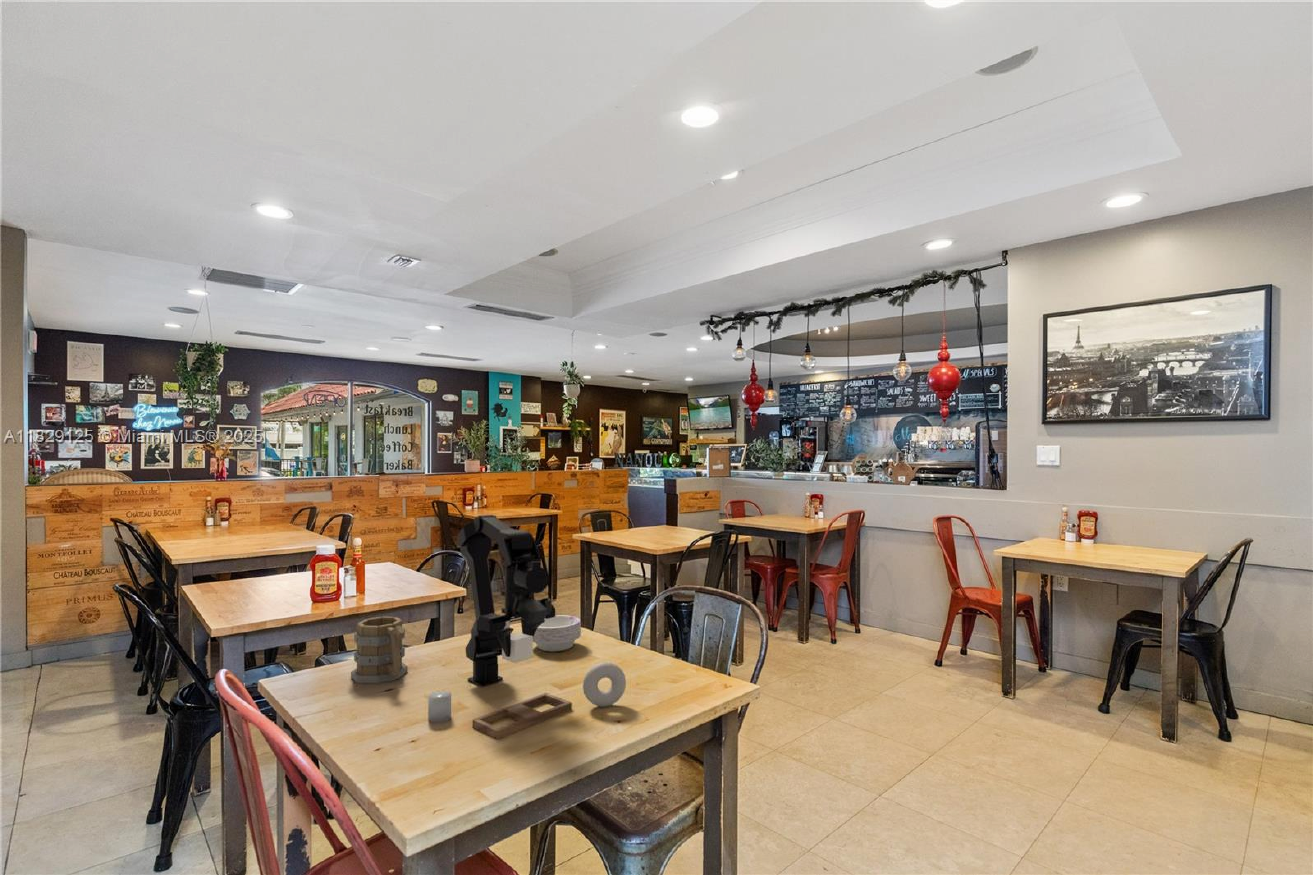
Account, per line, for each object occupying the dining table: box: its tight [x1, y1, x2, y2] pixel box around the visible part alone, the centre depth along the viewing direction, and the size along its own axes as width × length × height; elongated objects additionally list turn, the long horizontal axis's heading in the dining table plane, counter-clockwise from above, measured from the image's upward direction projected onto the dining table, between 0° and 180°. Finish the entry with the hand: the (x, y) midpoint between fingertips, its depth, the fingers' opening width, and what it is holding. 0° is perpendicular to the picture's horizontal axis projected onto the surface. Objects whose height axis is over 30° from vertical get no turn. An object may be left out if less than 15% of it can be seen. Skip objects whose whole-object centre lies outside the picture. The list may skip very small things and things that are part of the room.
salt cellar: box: [427, 690, 452, 724], centre depth 142 cm, size 5×5×5 cm
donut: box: [582, 661, 627, 708], centre depth 149 cm, size 10×4×10 cm, turn 105°
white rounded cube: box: [501, 632, 534, 664], centre depth 151 cm, size 5×5×5 cm
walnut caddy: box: [472, 692, 573, 740], centre depth 142 cm, size 9×20×2 cm, turn 139°
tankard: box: [350, 616, 409, 685], centre depth 167 cm, size 20×13×15 cm, turn 42°
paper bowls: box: [533, 614, 582, 653], centre depth 193 cm, size 15×15×8 cm
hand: (517, 653), depth 151 cm, fingers closed on white rounded cube, 5 cm apart
